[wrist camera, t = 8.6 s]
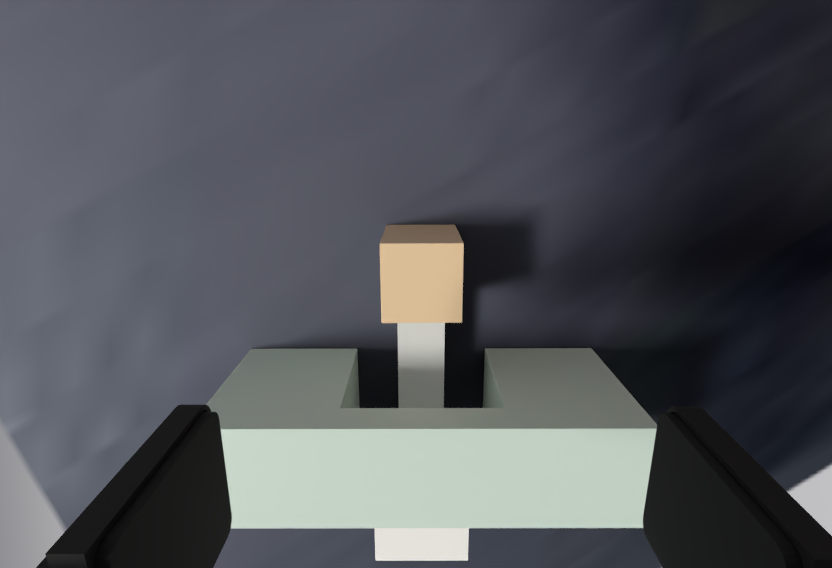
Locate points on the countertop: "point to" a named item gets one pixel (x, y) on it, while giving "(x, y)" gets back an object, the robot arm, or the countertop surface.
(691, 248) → the countertop surface
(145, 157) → the countertop surface
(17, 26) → the countertop surface
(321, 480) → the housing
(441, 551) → the plug
